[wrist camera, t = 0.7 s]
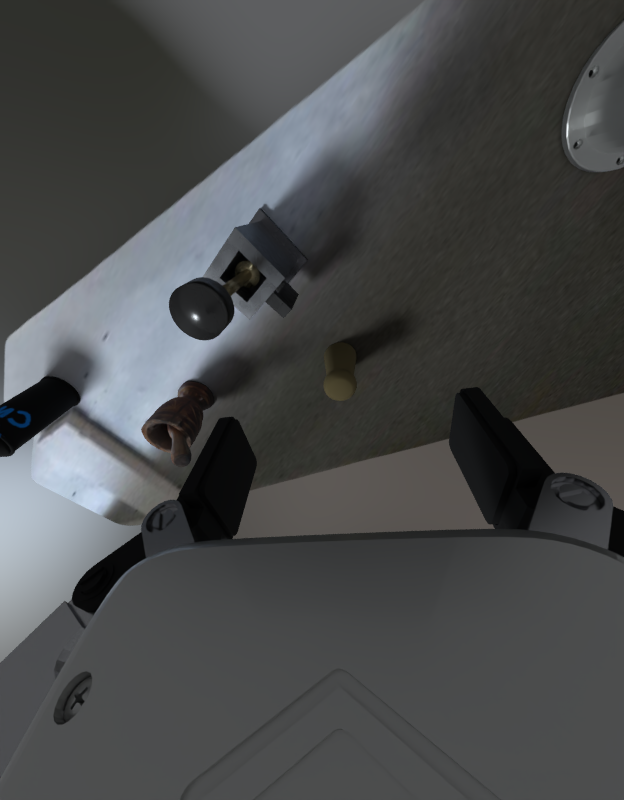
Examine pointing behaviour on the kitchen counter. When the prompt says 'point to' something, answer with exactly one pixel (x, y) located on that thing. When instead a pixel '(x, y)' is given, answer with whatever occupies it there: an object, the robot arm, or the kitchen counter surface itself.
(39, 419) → the aerosol can
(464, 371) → the kitchen counter surface
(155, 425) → the mortar and pestle
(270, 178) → the kitchen counter surface
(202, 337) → the plunger
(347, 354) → the cork
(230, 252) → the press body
